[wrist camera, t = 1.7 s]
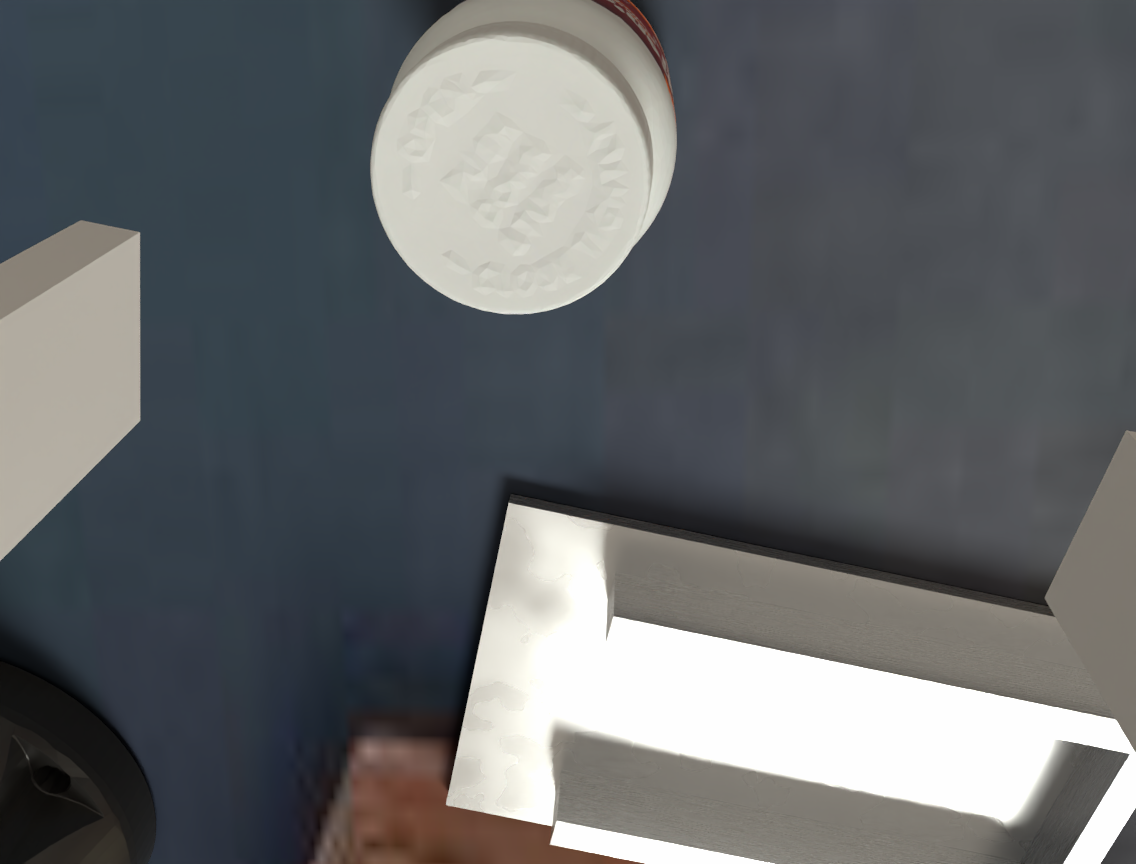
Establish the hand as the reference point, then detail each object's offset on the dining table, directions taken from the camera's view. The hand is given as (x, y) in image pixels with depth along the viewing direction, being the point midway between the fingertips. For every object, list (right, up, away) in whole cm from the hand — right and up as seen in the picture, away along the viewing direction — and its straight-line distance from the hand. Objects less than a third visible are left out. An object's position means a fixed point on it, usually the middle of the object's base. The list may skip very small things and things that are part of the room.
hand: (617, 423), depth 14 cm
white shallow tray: (+8, -11, +24) cm, 28 cm away
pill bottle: (-1, +9, +15) cm, 18 cm away
